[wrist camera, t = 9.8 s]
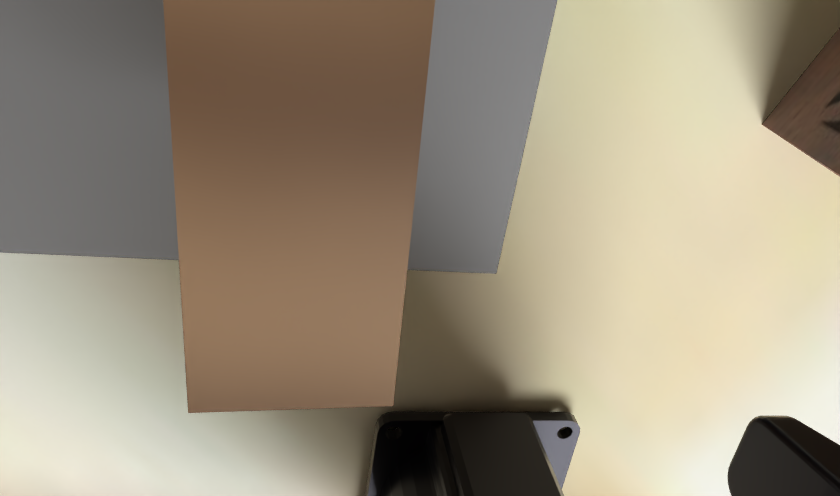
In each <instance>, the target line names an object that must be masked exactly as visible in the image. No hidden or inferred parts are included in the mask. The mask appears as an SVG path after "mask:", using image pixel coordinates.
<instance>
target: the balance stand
mask: <svg viewBox="0 0 840 496" xmlns="http://www.w3.org/2000/svg"><path fill="white" fill-rule="evenodd" d="M556 3H557V0H435V8H434V18H433V27H432V37H431V46H430V56H429V66H428V75H427V85H426V95H425V104H424V114H423V124H422V133H421V143H420V153H419V162H418V172H417V182H416V191H415V201H414V211H413V220H412V230H411V240H410V249H409V259H408V268H407V270H423V271H447V272H470V273H493V274H496V273H497V268H498V264H499V259H500V255H501V250H502V246H503V241H504V237H505V232H506V228H507V223H508V219H509V214H510V210H511V205H512V201H513V196H514V192H515V187H516V183H517V178H518V174H519V169H520V165H521V160H522V156H523V151H524V147H525V142H526V138H527V134H528V129H529V125H530V120H531V116H532V111H533V107H534V102H535V98H536V93H537V89H538V84H539V80H540V75H541V71H542V66H543V62H544V57H545V53H546V48H547V44H548V39H549V35H550V30H551V26H552V21H553V17H554V12H555V8H556ZM0 252H4V253H27V254H50V255H73V256H97V257H120V258H143V259H167V260H179V253H178V236H177V220H176V203H175V187H174V170H173V154H172V138H171V121H170V105H169V88H168V72H167V56H166V39H165V23H164V6H163V0H0Z"/></svg>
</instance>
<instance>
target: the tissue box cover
mask: <svg viewBox="0 0 840 496" xmlns="http://www.w3.org/2000/svg"><path fill="white" fill-rule="evenodd" d="M762 125H763V126H765V127H766V128H768V129H769V130H771V131H772V132H774V133H775V134H777V135H778V136H780V137H781V138H783V139H784V140H786V141H787V142H789V143H790V144H792V145H793V146H795V147H796V148H798V149H799V150H801V151H802V152H804V153H805V154H807V155H808V156H810V157H811V158H813V159H814V160H816V161H817V162H819V163H820V164H822V165H823V166H825V167H826V168H828V169H829V170H831V171H832V172H834V173H835V174H837V175H838V176H840V28H839V29H838V30H837V32H836V33H835V34H834V35H833V37H832V38H831V39H830V40H829V42H828V43H827V44H826V45H825V47H824V48H823V49H822V50H821V52H820V53H819V54H818V55H817V57H816V58H815V59H814V60H813V61H812V63H811V64H810V65H809V66H808V68H807V69H806V70H805V71H804V73H803V74H802V75H801V76H800V78H799V79H798V80H797V81H796V83H795V84H794V85H793V86H792V88H791V89H790V90H789V91H788V93H787V94H786V95H785V96H784V98H783V99H782V100H781V101H780V103H779V104H778V105H777V106H776V107H775V109H774V110H773V111H772V112H771V114H770V115H769V116H768V117H767V119H766V120H765V121H764V122H763V124H762Z"/></svg>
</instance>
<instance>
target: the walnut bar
mask: <svg viewBox="0 0 840 496" xmlns="http://www.w3.org/2000/svg"><path fill="white" fill-rule="evenodd" d="M163 6H164V23H165V39H166V56H167V72H168V88H169V105H170V121H171V138H172V154H173V170H174V187H175V203H176V220H177V236H178V253H179V269H180V285H181V302H182V318H183V335H184V351H185V367H186V384H187V400H188V413H200V412H230V411H260V410H290V409H321V408H351V407H381V406H393V404H394V394H395V384H396V375H397V365H398V355H399V346H400V336H401V326H402V317H403V307H404V297H405V288H406V278H407V268H408V259H409V249H410V240H411V230H412V220H413V211H414V201H415V191H416V182H417V172H418V162H419V153H420V143H421V133H422V124H423V114H424V104H425V95H426V85H427V75H428V66H429V56H430V46H431V37H432V27H433V18H434V8H435V0H163Z"/></svg>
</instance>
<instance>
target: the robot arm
mask: <svg viewBox="0 0 840 496" xmlns="http://www.w3.org/2000/svg"><path fill="white" fill-rule="evenodd" d="M391 427H399V428H397V429H396V430H392V431H390V430H388V429H389V428H391ZM563 427H566V428H565V429H563V430H559V429H561V428H563ZM579 433H580V427H579V425H578V423H577V421H576V419H575V417H574V415H572V414H571V413H567V412H388V413H386V414H384V415H382V416H381V417H380V418H379V419H378V420H377V423H376V427H375V433H374V440H373V446H372V453H371V459H370V466H369V472H368V479H367V485H366V492H365V496H564V495H563V492H562V487H563V483H564V480H565V477H566V474H567V471H568V468H569V465H570V461H571V458H572V455H573V452H574V449H575V446H576V443H577V439H578V436H579ZM728 485H729V489H730V493H731V495H732V496H840V445H838V444H837V443H835V442H833V441H832V440H830V439H828V438H827V437H825V436H823V435H822V434H820V433H818V432H817V431H815V430H813V429H812V428H810V427H808V426H806V425H805V424H803V423H801V422H800V421H798V420H796V419H794V418H792V417H789V416H758V417H755V418H754V419H753V420H752V421H750V422H749V424H748V426H747V428H746V430H745V432H744V435H743V437H742V439H741V441H740V443H739V446H738V448H737V450H736V452H735V455H734V457H733V459H732V461H731V463H730V466H729V470H728Z"/></svg>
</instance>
